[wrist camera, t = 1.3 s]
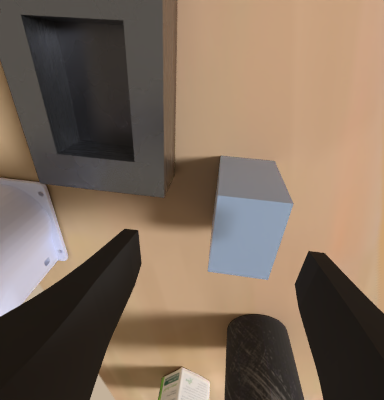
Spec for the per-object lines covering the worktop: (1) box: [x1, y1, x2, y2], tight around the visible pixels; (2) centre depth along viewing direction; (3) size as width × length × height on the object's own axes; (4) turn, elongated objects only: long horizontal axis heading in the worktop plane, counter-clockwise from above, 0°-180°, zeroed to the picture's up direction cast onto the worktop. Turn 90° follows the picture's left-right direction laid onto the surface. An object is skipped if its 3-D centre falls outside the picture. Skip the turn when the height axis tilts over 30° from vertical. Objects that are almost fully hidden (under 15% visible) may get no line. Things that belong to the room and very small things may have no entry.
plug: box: [208, 156, 293, 280], centre depth 17 cm, size 6×4×6 cm, turn 177°
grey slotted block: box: [0, 0, 177, 198], centre depth 13 cm, size 18×9×4 cm, turn 177°
